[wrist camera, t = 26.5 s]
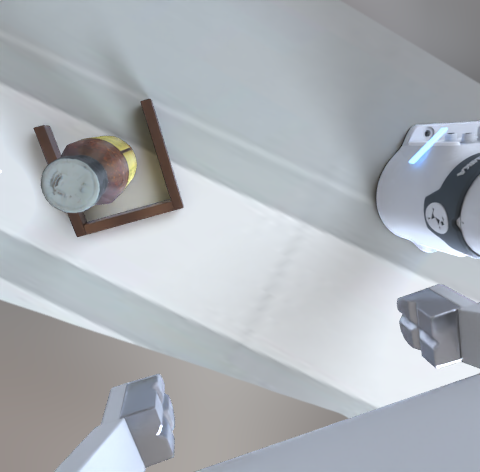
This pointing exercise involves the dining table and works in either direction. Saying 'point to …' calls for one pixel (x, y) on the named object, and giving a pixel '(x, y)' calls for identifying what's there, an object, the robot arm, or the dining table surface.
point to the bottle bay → (129, 216)
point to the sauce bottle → (89, 174)
